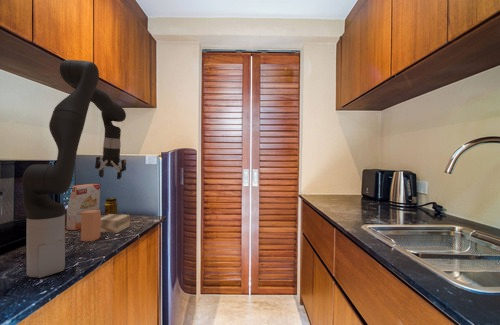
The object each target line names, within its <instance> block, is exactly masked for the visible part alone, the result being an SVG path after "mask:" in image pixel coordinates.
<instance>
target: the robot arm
mask: <svg viewBox="0 0 500 325" xmlns="http://www.w3.org/2000/svg"><path fill="white" fill-rule="evenodd" d="M59 73H60V76H61V78H62V79H63V82H65V83H66V84H67V85H68V86H70V87H71V88H72V89H74V91H72V93H70V94H69V95H67V96H66V97H65V98H63V99H62V100H61V101H60V102H58V104H57V105H56V106H55V107H54V109H53V111H52V114H51V117H50V121H49V122H48V123H49V124H48V127H49V131H50V134H51V137H52V138H53V141H54V142H55V145H56V147H57V158H56V161H55V164H47V163H46V164H42V163H41V164H37V163H36V164H31V165H29V166H28V167H27V168H26V169H25V170H24V172H23V175H22V181H21V182H22V183H21V184H22V185H21V186H22V196H23V197H22V199H23V208H24V210H25V213H26V276H28V277H30V278H38V279H40V278H44V277H48V276H51V275H53V274H57V273H60V272H62V271H65V268H66V205H64V204H63V203H59V202H56V201H54V200H53V199H52V198H51V197H50V196H49V195H62V194H65V193H67V191H68V189H69V188H70V186H72V182H73V177H74V172H75V167H76V166H75V164H76V159H77V152H78V148H79V144H80V141H81V136H82V133H83V131H84V127H85V123H86V120H87V119H86V118H87V114H88V111H89V107H90V104H91V102H92V104H94V105H95V106H96V108H97V109H98V110H99V111H101V118H102V123H103V126H104V136H103V137H104V139H103V145H102V146H103V147H102V157H101V156H96V157H95V165H94V168H95V169H97V170H98V176H99V178H103V177H104V174H105V172H104V171H105V168H106V167H111V168H115V170H116V171H117V173H116V174H117V175H116V180H120V179H122V175H123V172H126V171H127V159H126V158H125V159H121V158H120V157H121V145H122V144H121V137H122V136H121V135H122V134H121V133H122V129H121V127H120V126H116V125H114V124H113V122H115V123H122V122H124V121H125V120H126V118H127V113H126V111H125V109H124V108H123V107H122V106H120V105H119V104H117V102H114V101H113V99H112V98H111V97H110V96H109V95H108V94H107V92H105V91H104V90H102V89H101V88H98V87H97V86H98V83H99V79H100V70H99V68H98V66H97V64H95V63H94V62H93V61H89V60H81V59H79V60H78V59H77V60H76V59H64V60H63V61H61V63H60V65H59ZM101 162H103V163H102V164H101ZM120 164H121V165H120Z"/></svg>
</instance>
